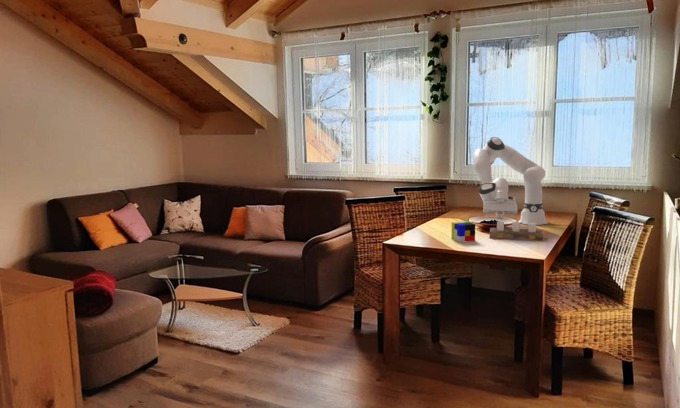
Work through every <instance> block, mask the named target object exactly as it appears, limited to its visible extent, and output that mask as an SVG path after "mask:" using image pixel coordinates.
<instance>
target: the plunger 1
mask: <svg viewBox="0 0 680 408" xmlns="http://www.w3.org/2000/svg"><path fill="white" fill-rule="evenodd" d="M496 228H497V231H504V228H505V221H499V220H497V221H496Z"/></svg>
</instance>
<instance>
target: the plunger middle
mask: <svg viewBox="0 0 680 408" xmlns="http://www.w3.org/2000/svg"><path fill="white" fill-rule="evenodd" d="M520 225H521V223H520V222H518V221H512V226H511V227H512V228H511V229H512V231H515V232H520V229H521V228H520V227H521V226H520Z"/></svg>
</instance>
